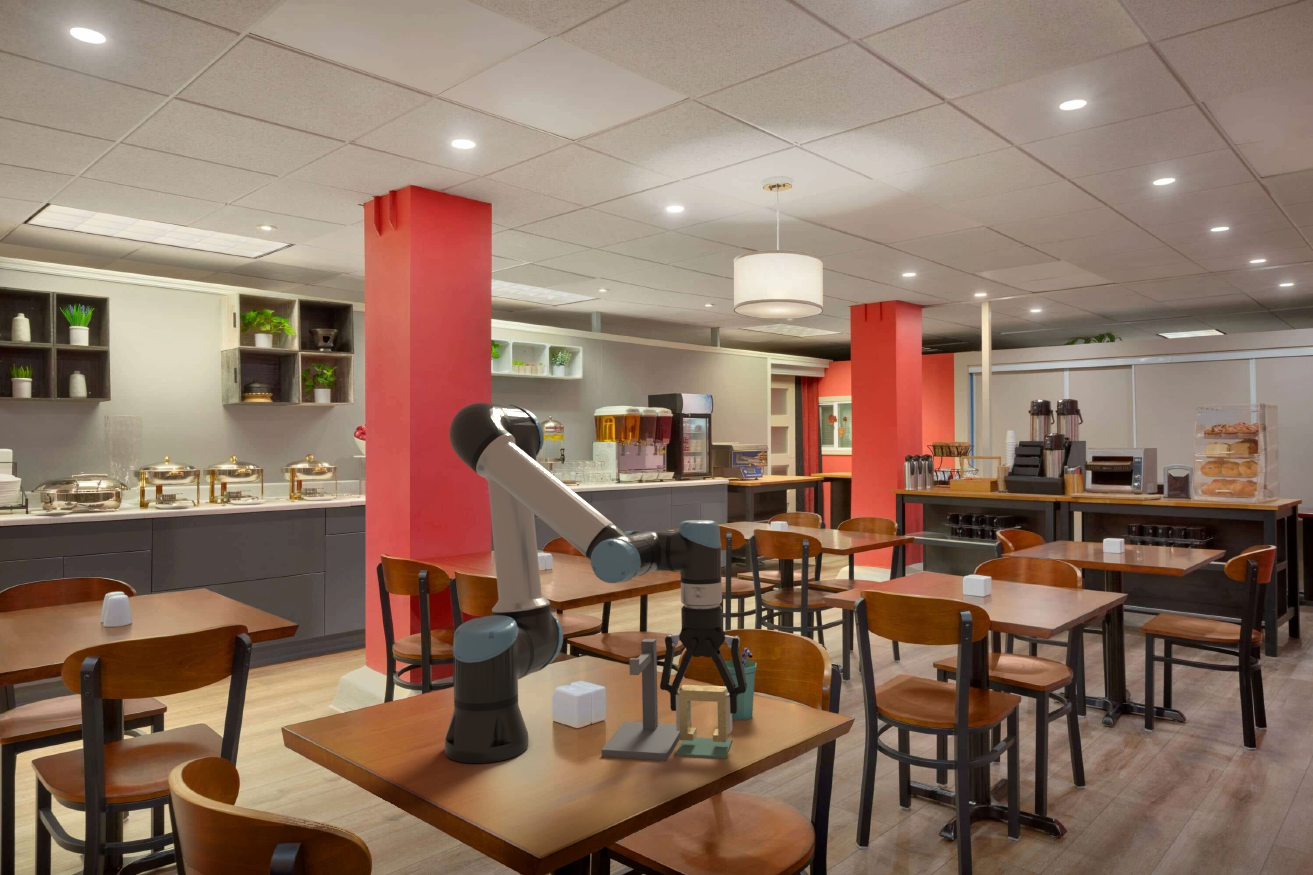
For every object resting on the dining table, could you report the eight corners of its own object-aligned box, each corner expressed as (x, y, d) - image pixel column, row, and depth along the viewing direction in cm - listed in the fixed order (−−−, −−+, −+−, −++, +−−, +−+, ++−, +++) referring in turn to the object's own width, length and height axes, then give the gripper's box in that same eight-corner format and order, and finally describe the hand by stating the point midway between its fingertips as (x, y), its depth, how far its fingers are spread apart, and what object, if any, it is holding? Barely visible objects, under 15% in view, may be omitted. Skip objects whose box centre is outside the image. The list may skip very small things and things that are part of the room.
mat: (675, 755, 147) (675, 753, 147) (684, 738, 156) (684, 736, 156) (725, 758, 146) (725, 756, 146) (732, 741, 154) (732, 739, 154)
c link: (680, 739, 150) (679, 690, 150) (683, 733, 154) (682, 684, 154) (726, 742, 148) (724, 691, 148) (728, 735, 152) (727, 686, 152)
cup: (771, 726, 162) (769, 649, 163) (733, 729, 161) (731, 652, 161) (748, 706, 176) (747, 635, 176) (713, 709, 174) (712, 637, 175)
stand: (601, 756, 148) (599, 654, 148) (624, 727, 163) (622, 636, 164) (667, 760, 145) (665, 657, 146) (684, 730, 161) (682, 637, 161)
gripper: (640, 607, 150) (643, 733, 150) (757, 609, 146) (760, 739, 145) (649, 600, 158) (652, 720, 157) (761, 602, 153) (764, 725, 152)
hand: (704, 729), depth 151 cm, fingers closed on c link, 8 cm apart
